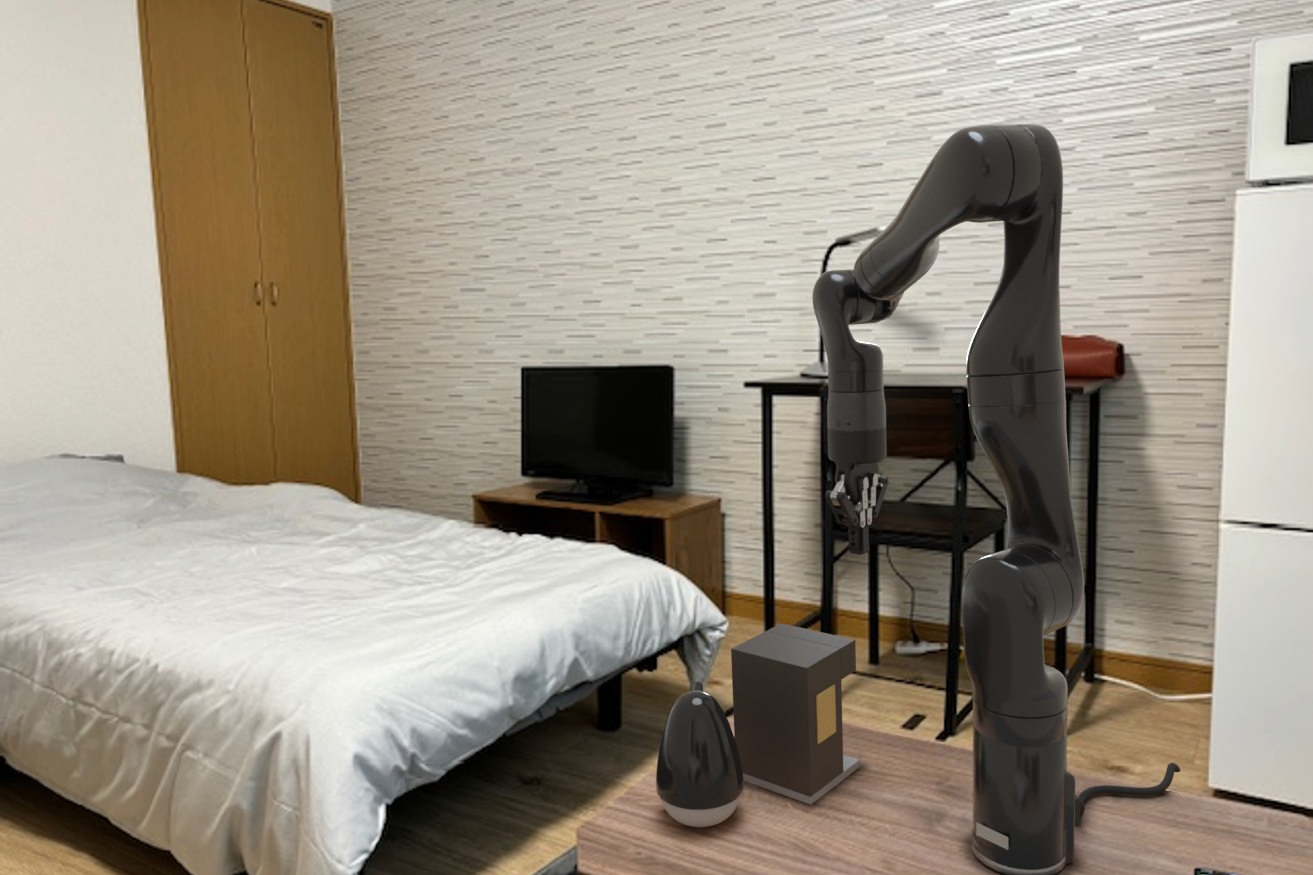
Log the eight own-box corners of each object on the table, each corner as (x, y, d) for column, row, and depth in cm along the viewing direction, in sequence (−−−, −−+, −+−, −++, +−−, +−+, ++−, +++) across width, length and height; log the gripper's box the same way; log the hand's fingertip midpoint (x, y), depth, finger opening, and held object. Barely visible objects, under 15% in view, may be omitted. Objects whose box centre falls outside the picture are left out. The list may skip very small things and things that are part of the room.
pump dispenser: (745, 792, 120) (740, 673, 118) (744, 839, 110) (739, 710, 108) (661, 791, 121) (656, 674, 119) (653, 838, 111) (646, 711, 109)
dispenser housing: (787, 743, 132) (783, 621, 130) (861, 767, 125) (858, 638, 123) (735, 777, 124) (730, 648, 121) (812, 805, 117) (808, 668, 114)
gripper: (856, 433, 122) (858, 569, 124) (906, 418, 131) (908, 545, 134) (804, 429, 127) (807, 560, 129) (856, 416, 136) (859, 538, 139)
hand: (859, 552), depth 132 cm, fingers closed
